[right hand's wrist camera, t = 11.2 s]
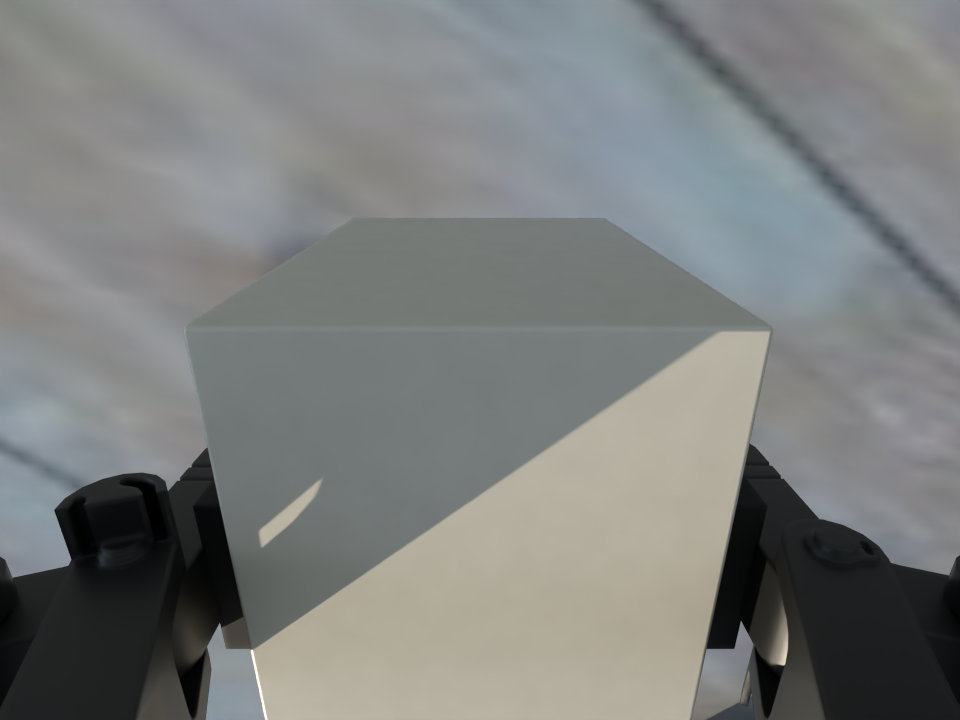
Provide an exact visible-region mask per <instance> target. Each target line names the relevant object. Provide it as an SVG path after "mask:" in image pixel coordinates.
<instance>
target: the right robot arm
mask: <svg viewBox="0 0 960 720" xmlns="http://www.w3.org/2000/svg"><path fill="white" fill-rule="evenodd" d="M54 511H55V514H56V516H57V519H58V522H59V525H60V528H61V531H62V534H63V536H64V539H65V542H66V545H67V548H68V551H69V554H70V556H71V559H72V560H71V562H70V564H69V566H66V567H62V568H57V569H52V570H48V571H43V572H38V573H33V574H29V575H24V576H19V577H14V578H12V576H11V573H10V571H9V568H8V566H7V563H6V561H5V560H4V559H3V558H1V557H0V720H205V719H206V711H207V702H208V694H209V685H210V677H211V663H210V657H209V653H208V649H207V645H208V644H209V642H210V640H211V638H212V636H213V634H214V632H215V630H216V629H217V627H218V625H219V623H220V625H221V629H222V633H223V637H224V642H225V646H226V649H250V645H249V640H248V635H247V631H246V626H245V621H244V616H243V612H242V607H241V602H240V598H239V593H238V588H237V583H236V579H235V574H234V569H233V565H232V560H231V555H230V551H229V546H228V541H227V536H226V532H225V527H224V522H223V518H222V513H221V508H220V504H219V499H218V494H217V489H216V485H215V480H214V475H213V471H212V466H211V461H210V457H209V452H208V448H206V449H205V450H204V451H203V452H202V453H201V455H200V456H199V457H198V458H197V459H196V460H195V461H194V463H193V464H192V467H191V468H188V469H187V470H186V472H185V473H184V474H183V475H182V476H181V477H180V481H177V482H176V483H175V484H174V485H173V486H172V488H171V489H170V490H169V491H167V487H166V483H165V481H164V480H163V479H161V478H160V477H159V476H157V475H153V474H147V473H131V474H121V475H117V476H113V477H109V478H105V479H102V480H99V481H97V482H94V483H92V484H90V485H87V486H85V487H82V488H81V489H79V490H77V491H76V492H74V493H73V494H71V495H70V496H68V497H66V498H65V499H64V500H63V501H62V502H61V503H60V504H59V505H58V507H57V508H56V509H55V510H54ZM741 621H742V623H743V625H744V627H745V629H746V631H747V632H748V634H749V636H750V638H751V640H752V642H753V644H754V645H753V649H752V653H751V657H750V661H749V665H748V669H747V673H746V677H745V681H744V685H743V689H742V693H741V699H740V704H741V705H745V706H748V703H749V699H750V695H751V693H752V701H753V709H754V718H755V720H960V556H958V557H957V558H956V560H955V562H954V565H953V567H952V570H951V572H950V575H949V576H948V575H944V574H939V573H934V572H929V571H924V570H920V569H915V568H910V567H905V566H901V565H896V564H893V563H890V561H889V559H888V557H887V556H886V555H885V554H884V552H883V551H882V550H881V548H880V547H879V546H878V545H876V544H875V543H874V542H872V541H871V540H870V539H868V538H867V537H866V536H864V535H863V534H861V533H859V532H857V531H855V530H852V529H850V528H848V527H846V526H844V525H841V524H837V523H834V522H830V521H827V520H821V519H819V518H818V517H817V516H816V515H815V514H814V513H813V512H812V510H811V509H810V508H809V507H808V506H807V505H806V504H805V503H804V501H803V500H802V499H801V498H800V497H799V496H798V495H797V494H796V492H795V491H794V490H793V489H792V488H791V487H790V486H789V484H788V483H787V482H786V481H785V480H784V479H781V475H780V474H779V473H778V472H777V471H776V470H775V469H774V468H773V466H769V462H768V461H767V460H766V459H765V457H764V456H763V455H762V454H761V453H760V452H759V451H758V450H757V448H756V447H754V446H753V445H751V444H749V448H748V453H747V458H746V463H745V467H744V472H743V477H742V482H741V487H740V491H739V496H738V501H737V506H736V510H735V515H734V520H733V525H732V529H731V534H730V539H729V544H728V548H727V553H726V558H725V563H724V568H723V572H722V577H721V582H720V587H719V591H718V596H717V601H716V606H715V610H714V615H713V620H712V625H711V630H710V634H709V639H708V644H707V649H734V647H735V643H736V639H737V635H738V631H739V626H740V622H741Z"/></svg>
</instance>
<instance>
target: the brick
mask: <svg viewBox="0 0 960 720" xmlns="http://www.w3.org/2000/svg"><path fill="white" fill-rule="evenodd" d="M183 334H184V339H185V344H186V348H187V353H188V358H189V362H190V367H191V372H192V377H193V381H194V386H195V391H196V395H197V400H198V405H199V409H200V414H201V419H202V424H203V428H204V433H205V438H206V442H207V447H208V452H209V457H210V461H211V466H212V471H213V475H214V480H215V485H216V489H217V494H218V499H219V504H220V508H221V513H222V518H223V522H224V527H225V532H226V536H227V541H228V546H229V551H230V555H231V560H232V565H233V569H234V574H235V579H236V583H237V588H238V593H239V598H240V602H241V607H242V612H243V616H244V621H245V626H246V631H247V635H248V640H249V645H250V649H251V654H252V659H253V663H254V668H255V673H256V678H257V682H258V687H259V692H260V696H261V701H262V706H263V710H264V715H265V720H692V715H693V711H694V706H695V701H696V696H697V691H698V687H699V682H700V677H701V672H702V668H703V663H704V658H705V653H706V649H707V644H708V639H709V634H710V630H711V625H712V620H713V615H714V610H715V606H716V601H717V596H718V591H719V587H720V582H721V577H722V572H723V568H724V563H725V558H726V553H727V548H728V544H729V539H730V534H731V529H732V525H733V520H734V515H735V510H736V506H737V501H738V496H739V491H740V487H741V482H742V477H743V472H744V467H745V463H746V458H747V453H748V448H749V444H750V439H751V434H752V429H753V425H754V420H755V415H756V410H757V405H758V401H759V396H760V391H761V386H762V382H763V377H764V372H765V367H766V363H767V358H768V353H769V348H770V344H771V339H772V334H773V330H772V326H770V325H769V324H767V323H766V322H764V321H763V320H761V319H760V318H758V317H756V316H755V315H753V314H752V313H750V312H749V311H747V310H746V309H744V308H743V307H741V306H739V305H738V304H736V303H735V302H733V301H732V300H730V299H729V298H727V297H726V296H724V295H723V294H721V293H719V292H718V291H716V290H715V289H713V288H712V287H710V286H709V285H707V284H706V283H704V282H702V281H701V280H699V279H698V278H696V277H695V276H693V275H692V274H690V273H689V272H687V271H685V270H684V269H682V268H681V267H679V266H678V265H676V264H675V263H673V262H672V261H670V260H669V259H667V258H665V257H664V256H662V255H661V254H659V253H658V252H656V251H655V250H653V249H652V248H650V247H648V246H647V245H645V244H644V243H642V242H641V241H639V240H638V239H636V238H635V237H633V236H631V235H630V234H628V233H627V232H625V231H624V230H622V229H621V228H619V227H618V226H616V225H614V224H613V223H611V222H610V221H608V220H607V219H605V218H353V219H351V220H350V221H348V222H347V223H345V224H344V225H342V226H341V227H339V228H337V229H336V230H334V231H333V232H331V233H330V234H328V235H326V236H325V237H323V238H322V239H320V240H319V241H317V242H315V243H314V244H312V245H311V246H309V247H308V248H306V249H305V250H303V251H301V252H300V253H298V254H297V255H295V256H294V257H292V258H290V259H289V260H287V261H286V262H284V263H283V264H281V265H279V266H278V267H276V268H275V269H273V270H272V271H270V272H269V273H267V274H265V275H264V276H262V277H261V278H259V279H258V280H256V281H254V282H253V283H251V284H250V285H248V286H247V287H245V288H243V289H242V290H240V291H239V292H237V293H236V294H234V295H233V296H231V297H229V298H228V299H226V300H225V301H223V302H222V303H220V304H218V305H217V306H215V307H214V308H212V309H211V310H209V311H208V312H206V313H204V314H203V315H201V316H200V317H198V318H197V319H195V320H193V321H192V322H190V323H189V324H187V325H186V326H184V329H183Z"/></svg>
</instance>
